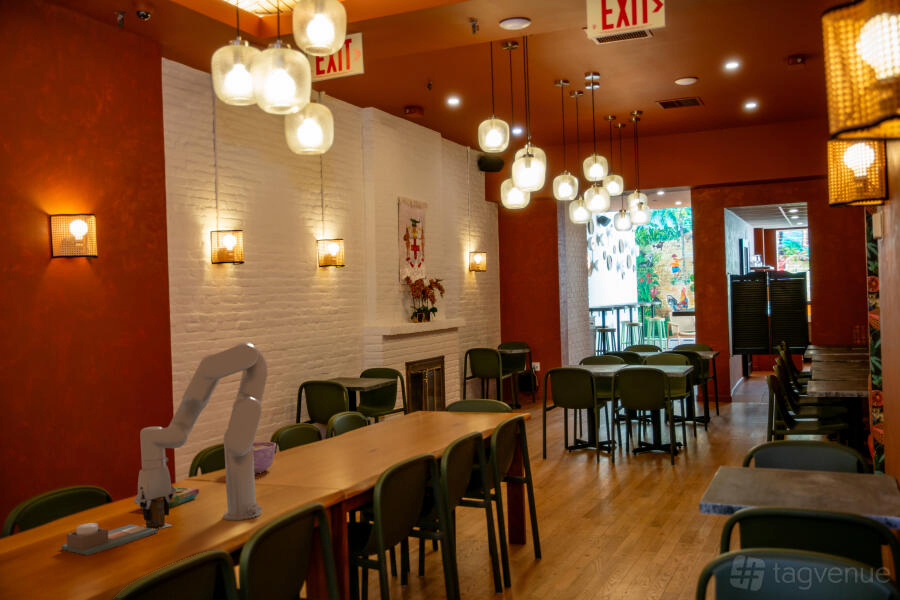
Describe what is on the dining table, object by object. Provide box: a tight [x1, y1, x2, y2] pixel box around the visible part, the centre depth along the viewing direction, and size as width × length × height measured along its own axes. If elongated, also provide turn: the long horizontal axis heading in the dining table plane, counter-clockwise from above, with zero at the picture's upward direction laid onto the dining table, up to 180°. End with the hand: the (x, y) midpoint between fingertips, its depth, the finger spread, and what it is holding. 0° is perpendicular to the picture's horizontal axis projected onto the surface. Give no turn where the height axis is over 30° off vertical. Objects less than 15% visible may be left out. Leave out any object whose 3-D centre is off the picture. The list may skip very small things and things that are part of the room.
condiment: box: [141, 497, 173, 530], centre depth 256 cm, size 7×8×12 cm
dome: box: [75, 522, 99, 537], centre depth 236 cm, size 6×6×3 cm
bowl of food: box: [253, 441, 277, 475], centre depth 334 cm, size 20×20×12 cm
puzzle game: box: [134, 486, 200, 508], centre depth 286 cm, size 12×5×20 cm
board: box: [60, 524, 158, 556], centre depth 242 cm, size 14×24×5 cm, turn 147°
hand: (156, 517), depth 256 cm, fingers closed on condiment, 6 cm apart
